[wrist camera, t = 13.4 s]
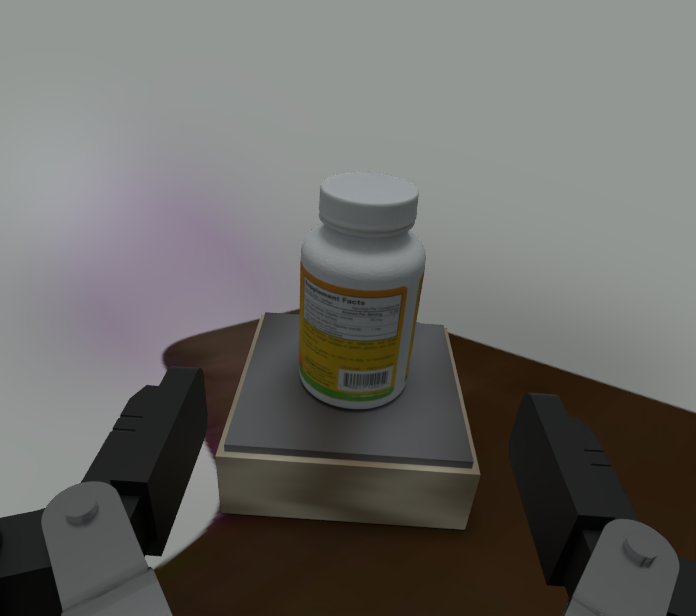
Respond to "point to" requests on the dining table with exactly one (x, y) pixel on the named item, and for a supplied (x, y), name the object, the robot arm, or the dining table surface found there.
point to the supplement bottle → (360, 290)
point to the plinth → (347, 441)
